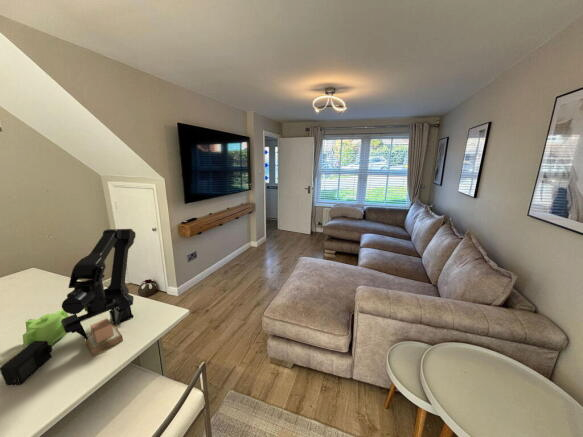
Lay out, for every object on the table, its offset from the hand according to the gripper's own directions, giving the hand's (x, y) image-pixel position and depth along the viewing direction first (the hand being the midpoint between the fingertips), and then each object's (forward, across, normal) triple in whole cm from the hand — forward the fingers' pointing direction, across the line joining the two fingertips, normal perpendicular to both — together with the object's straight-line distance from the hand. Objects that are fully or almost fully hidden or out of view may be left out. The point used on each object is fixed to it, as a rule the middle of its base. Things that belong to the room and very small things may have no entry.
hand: (102, 331), depth 88 cm
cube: (+2, 0, 0) cm, 2 cm away
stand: (+4, 0, 0) cm, 4 cm away
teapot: (+5, +12, -16) cm, 21 cm away
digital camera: (+5, +18, -4) cm, 19 cm away
